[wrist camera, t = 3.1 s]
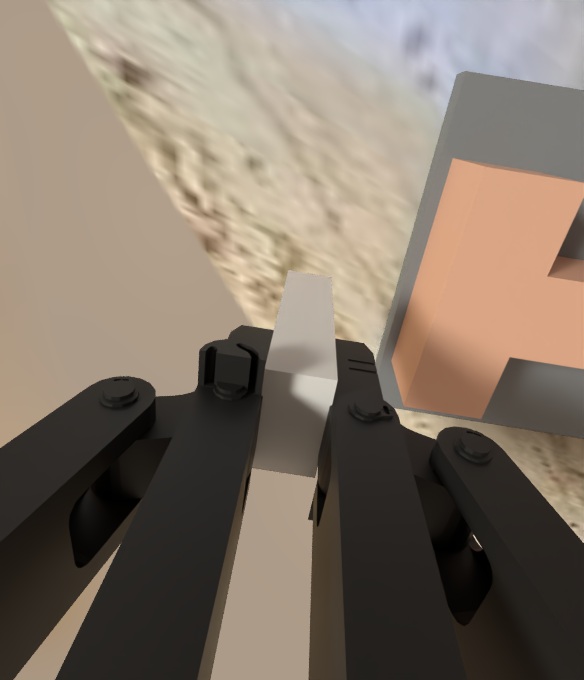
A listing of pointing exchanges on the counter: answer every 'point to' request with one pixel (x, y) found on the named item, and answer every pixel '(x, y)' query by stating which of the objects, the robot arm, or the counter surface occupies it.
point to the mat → (580, 243)
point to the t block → (491, 288)
